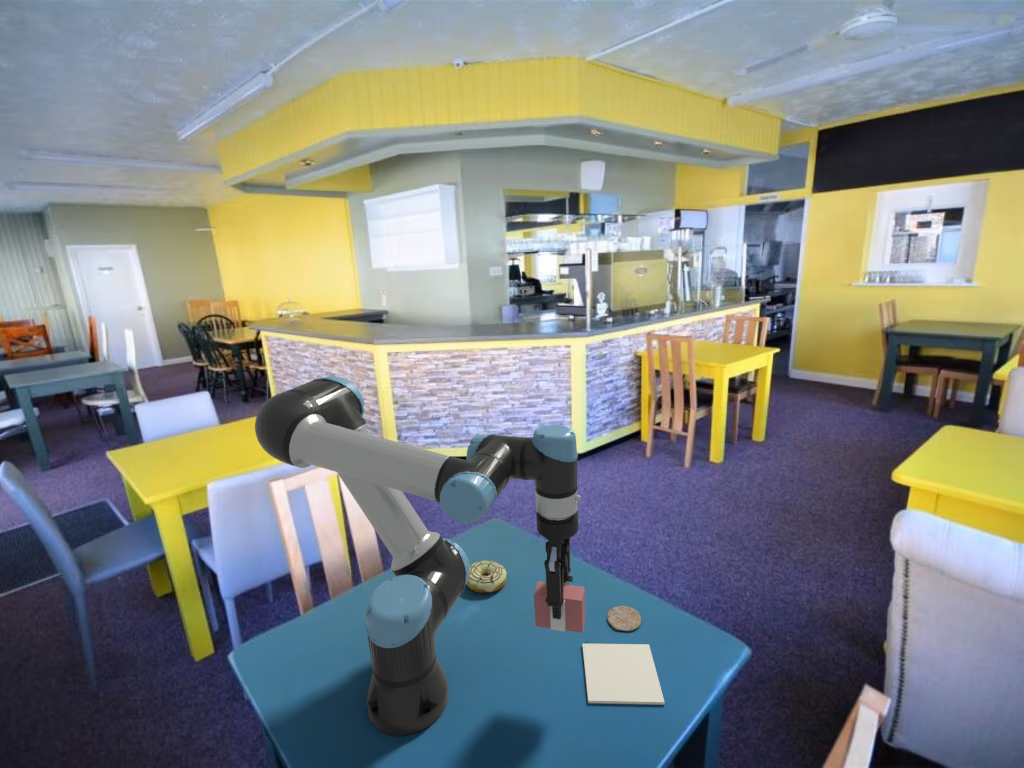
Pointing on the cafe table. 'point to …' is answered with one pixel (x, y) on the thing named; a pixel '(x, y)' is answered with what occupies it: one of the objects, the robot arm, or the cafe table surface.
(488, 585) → the decorated donut
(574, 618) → the card deck box
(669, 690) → the cafe table surface
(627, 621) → the flatbread
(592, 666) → the serving mat
